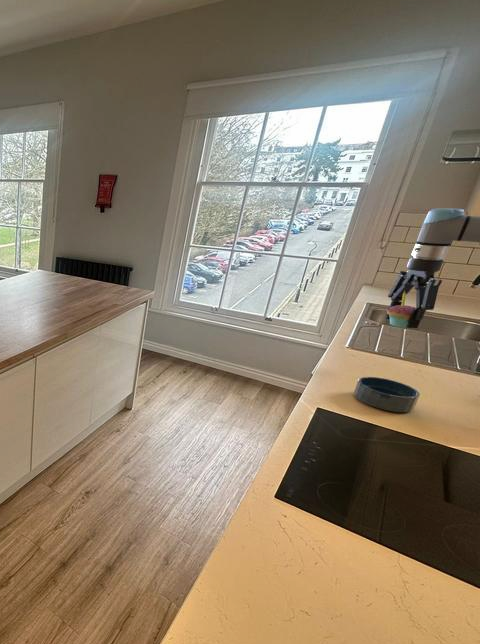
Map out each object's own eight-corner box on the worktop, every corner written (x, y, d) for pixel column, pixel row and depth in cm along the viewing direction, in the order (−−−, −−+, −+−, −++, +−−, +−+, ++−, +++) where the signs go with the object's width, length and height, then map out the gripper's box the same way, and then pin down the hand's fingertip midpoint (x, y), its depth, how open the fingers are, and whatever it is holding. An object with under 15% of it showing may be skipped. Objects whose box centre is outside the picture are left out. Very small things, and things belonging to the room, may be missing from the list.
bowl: (425, 415, 116) (432, 399, 114) (372, 411, 118) (379, 395, 116) (389, 393, 128) (396, 378, 126) (342, 390, 130) (348, 375, 128)
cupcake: (381, 325, 139) (393, 291, 134) (384, 319, 144) (396, 287, 139) (416, 331, 133) (431, 296, 128) (418, 325, 138) (432, 292, 133)
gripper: (388, 252, 140) (366, 313, 148) (441, 264, 121) (412, 333, 129) (414, 252, 138) (390, 314, 147) (471, 264, 119) (440, 334, 127)
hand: (400, 323), depth 138 cm, fingers closed on cupcake, 8 cm apart
